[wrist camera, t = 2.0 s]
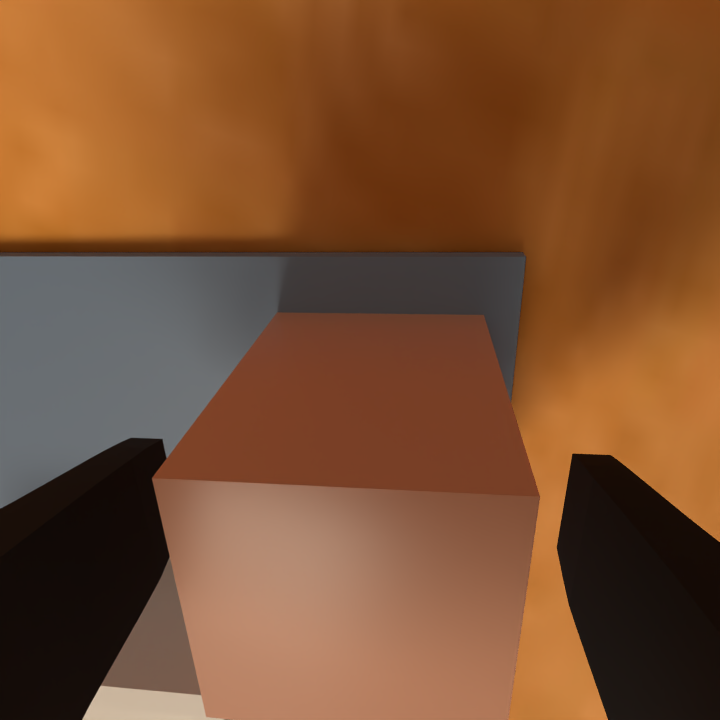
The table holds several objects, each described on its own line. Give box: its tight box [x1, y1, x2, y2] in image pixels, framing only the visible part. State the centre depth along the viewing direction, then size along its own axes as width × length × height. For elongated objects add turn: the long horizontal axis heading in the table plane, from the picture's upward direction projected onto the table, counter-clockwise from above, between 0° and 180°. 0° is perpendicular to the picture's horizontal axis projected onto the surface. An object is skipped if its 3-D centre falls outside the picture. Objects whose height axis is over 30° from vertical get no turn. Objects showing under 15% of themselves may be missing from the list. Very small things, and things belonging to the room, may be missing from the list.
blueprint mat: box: [0, 252, 526, 558], centre depth 15 cm, size 14×17×1 cm
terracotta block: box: [152, 312, 540, 720], centre depth 10 cm, size 4×4×6 cm
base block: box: [82, 558, 231, 720], centre depth 15 cm, size 8×8×4 cm
